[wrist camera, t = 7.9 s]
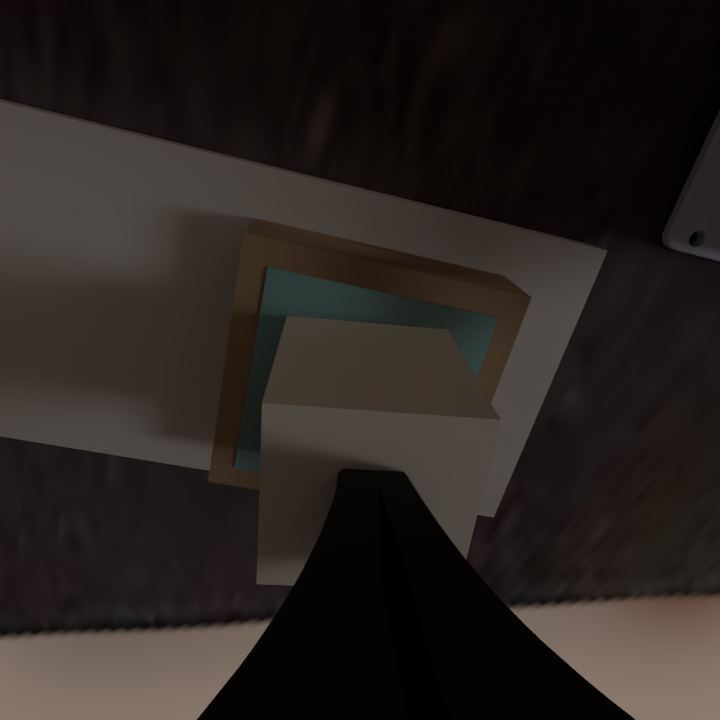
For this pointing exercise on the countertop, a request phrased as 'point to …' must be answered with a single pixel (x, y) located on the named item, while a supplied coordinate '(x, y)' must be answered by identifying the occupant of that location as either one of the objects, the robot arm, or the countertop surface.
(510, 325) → the walnut block
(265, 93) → the countertop surface
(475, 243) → the baseplate
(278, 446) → the cream block
